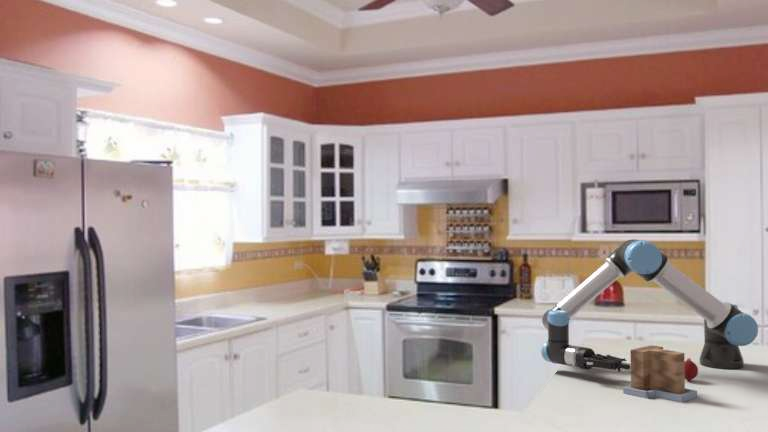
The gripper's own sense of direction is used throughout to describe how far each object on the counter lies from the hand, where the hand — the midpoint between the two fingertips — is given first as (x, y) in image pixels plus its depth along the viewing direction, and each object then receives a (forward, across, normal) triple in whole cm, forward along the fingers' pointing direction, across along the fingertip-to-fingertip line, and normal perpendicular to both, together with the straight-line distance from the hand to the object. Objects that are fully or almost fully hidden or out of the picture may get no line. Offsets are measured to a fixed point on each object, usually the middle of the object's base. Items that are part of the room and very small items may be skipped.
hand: (640, 368), depth 235 cm
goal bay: (+8, 0, -7) cm, 11 cm away
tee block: (+7, 0, -7) cm, 10 cm away
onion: (+5, -22, -7) cm, 24 cm away
